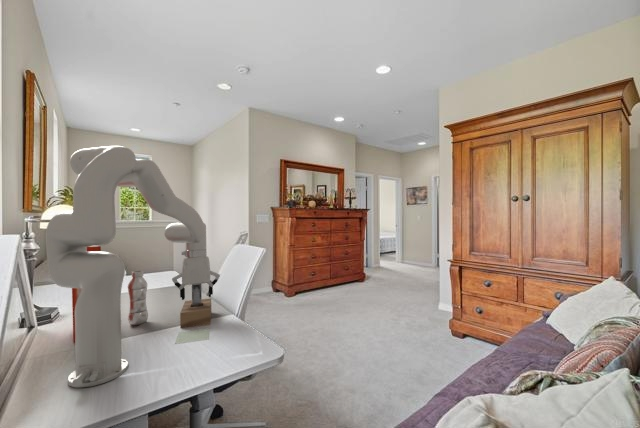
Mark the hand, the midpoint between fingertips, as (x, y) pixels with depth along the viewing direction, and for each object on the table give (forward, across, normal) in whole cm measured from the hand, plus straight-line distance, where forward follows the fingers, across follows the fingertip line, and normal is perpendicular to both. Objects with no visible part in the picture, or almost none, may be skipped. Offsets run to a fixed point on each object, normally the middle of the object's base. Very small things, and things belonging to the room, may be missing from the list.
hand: (196, 297), depth 115 cm
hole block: (+9, 0, 0) cm, 9 cm away
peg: (+9, 0, 0) cm, 9 cm away
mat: (+9, 0, -17) cm, 19 cm away
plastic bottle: (+9, -21, +4) cm, 23 cm away
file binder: (+9, -36, +1) cm, 37 cm away
